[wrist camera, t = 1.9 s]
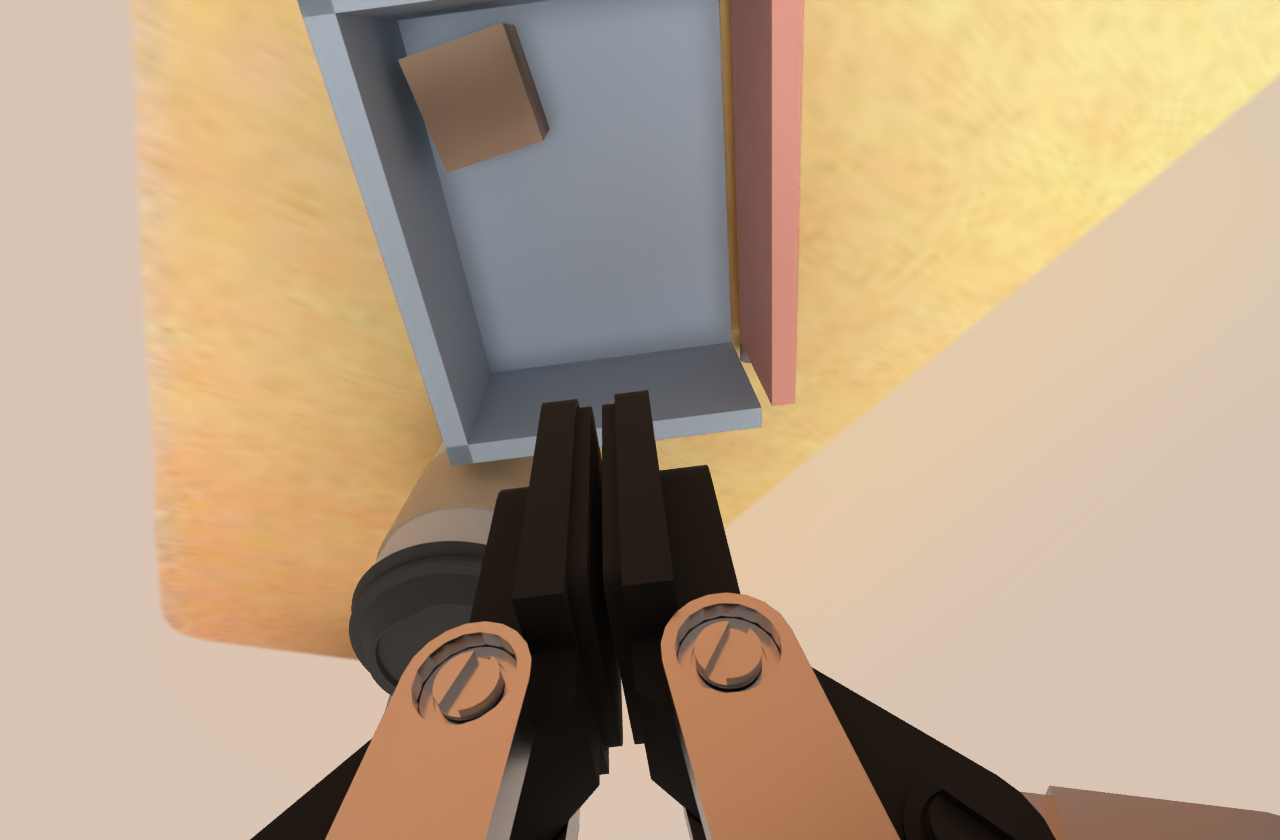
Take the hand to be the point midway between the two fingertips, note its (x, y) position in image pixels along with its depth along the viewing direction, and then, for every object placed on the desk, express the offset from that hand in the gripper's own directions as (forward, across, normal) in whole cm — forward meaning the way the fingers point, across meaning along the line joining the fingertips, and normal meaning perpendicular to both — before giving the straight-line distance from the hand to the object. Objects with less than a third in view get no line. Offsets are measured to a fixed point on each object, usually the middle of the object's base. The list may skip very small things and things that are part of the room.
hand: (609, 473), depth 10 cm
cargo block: (+23, +4, -4) cm, 24 cm away
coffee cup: (+23, +8, +15) cm, 29 cm away
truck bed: (+23, +1, +1) cm, 23 cm away
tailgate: (+22, -7, +1) cm, 23 cm away
